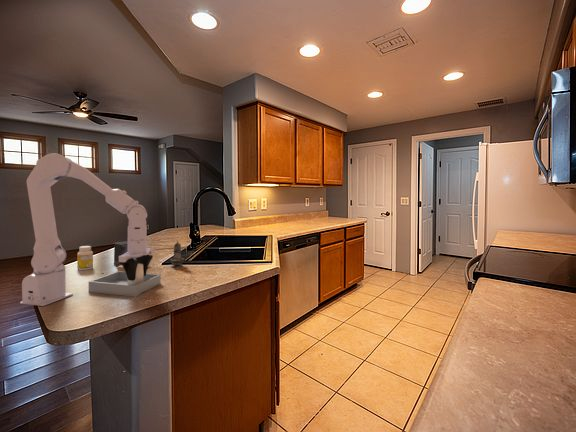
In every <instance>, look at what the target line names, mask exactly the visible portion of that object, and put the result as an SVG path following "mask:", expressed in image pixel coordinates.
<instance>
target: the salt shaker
mask: <svg viewBox="0 0 576 432" xmlns="http://www.w3.org/2000/svg"><path fill="white" fill-rule="evenodd" d="M181 246H182V245H181V243H179V241H176V243H174V244H173V252H172V253H173V257H172V258H170V259H169V260H170V262H171V264H172V265H171V266H170V268H172V269H181V267H182V268H183V267H184V265H183V262H184V261H185V258H183V257H182V248H181Z"/></svg>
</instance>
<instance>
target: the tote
mask: <svg viewBox="0 0 576 432" xmlns="http://www.w3.org/2000/svg"><path fill="white" fill-rule="evenodd" d="M161 278H162V277H161V274H157V273H156V274H155V273H148V272H146V275H145V276H144V282H142V283H140V284H137V285H128V281H127V275H126V272H124V271H118V272H117V271H115V272H112V273H109V274H107V275H104V276H101V277H98V278H95V279H92V280H90V281H88V292H89V293H96V294H105V295H106V294H107V295H117V296H123V297H124V296H127V297H136V298H137V297H138V296H140V295H142V294H144V293H146V292H148V291H149V290H151V289H153V288H155V287H157V286H160V285H161Z"/></svg>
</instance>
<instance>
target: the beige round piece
mask: <svg viewBox="0 0 576 432" xmlns="http://www.w3.org/2000/svg"><path fill="white" fill-rule="evenodd" d="M127 281H128V285H137V284H140V283H142V282H144V270H143V263H138V265H137V269H136V277H135V280H134V281H131V280H128V278H127Z"/></svg>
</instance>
